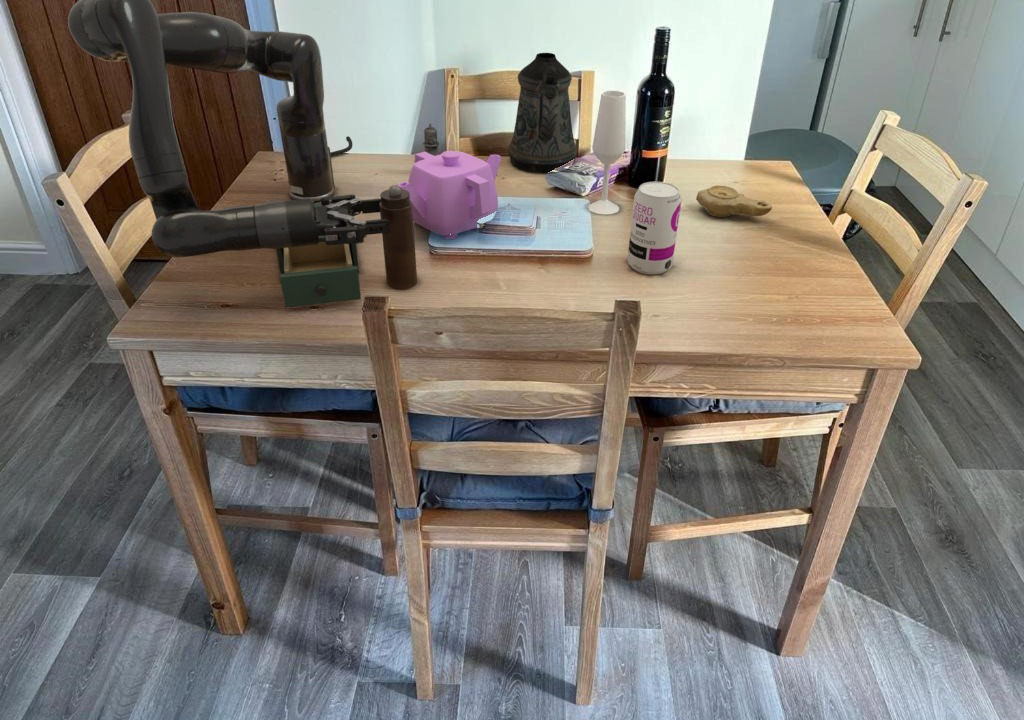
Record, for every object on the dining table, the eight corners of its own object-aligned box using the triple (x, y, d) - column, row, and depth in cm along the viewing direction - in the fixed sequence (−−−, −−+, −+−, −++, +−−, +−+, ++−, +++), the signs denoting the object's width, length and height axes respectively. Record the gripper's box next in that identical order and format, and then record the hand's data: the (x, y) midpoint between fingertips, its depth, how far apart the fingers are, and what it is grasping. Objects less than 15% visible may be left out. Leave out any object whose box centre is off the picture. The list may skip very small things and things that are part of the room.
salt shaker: (441, 180, 175) (439, 128, 168) (416, 178, 176) (413, 126, 169) (448, 171, 180) (446, 120, 173) (424, 169, 180) (421, 118, 174)
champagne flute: (584, 211, 161) (592, 96, 148) (592, 199, 167) (601, 87, 153) (615, 216, 159) (626, 100, 146) (622, 204, 165) (634, 91, 151)
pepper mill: (395, 273, 138) (386, 177, 128) (422, 277, 137) (416, 181, 126) (381, 286, 134) (371, 189, 123) (409, 292, 132) (402, 193, 122)
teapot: (400, 244, 148) (394, 169, 139) (411, 206, 163) (407, 136, 154) (499, 246, 148) (499, 171, 139) (501, 208, 162) (501, 138, 154)
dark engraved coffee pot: (550, 146, 195) (555, 42, 180) (596, 170, 181) (605, 60, 167) (495, 157, 187) (495, 50, 173) (539, 183, 174) (543, 70, 160)
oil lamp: (770, 225, 157) (775, 202, 154) (701, 224, 157) (705, 202, 154) (756, 204, 165) (761, 182, 163) (691, 204, 165) (694, 182, 162)
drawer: (361, 303, 127) (358, 272, 124) (285, 311, 125) (279, 280, 121) (353, 260, 140) (350, 231, 136) (284, 267, 137) (279, 238, 134)
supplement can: (674, 259, 144) (685, 183, 135) (667, 279, 137) (678, 201, 129) (632, 252, 146) (640, 177, 137) (623, 271, 139) (631, 194, 131)
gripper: (283, 220, 116) (389, 211, 120) (282, 186, 127) (379, 178, 131) (291, 264, 120) (393, 254, 124) (289, 227, 132) (383, 218, 135)
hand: (386, 215), depth 127 cm, fingers open, 8 cm apart
